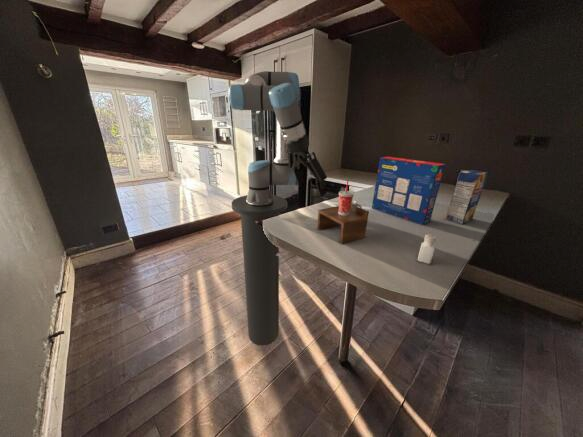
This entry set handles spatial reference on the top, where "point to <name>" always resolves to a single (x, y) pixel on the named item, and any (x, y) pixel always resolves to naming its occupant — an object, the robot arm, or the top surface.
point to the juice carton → (466, 196)
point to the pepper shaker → (427, 249)
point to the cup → (356, 204)
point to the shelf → (345, 222)
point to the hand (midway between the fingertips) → (311, 188)
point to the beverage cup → (345, 201)
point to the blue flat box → (407, 188)
